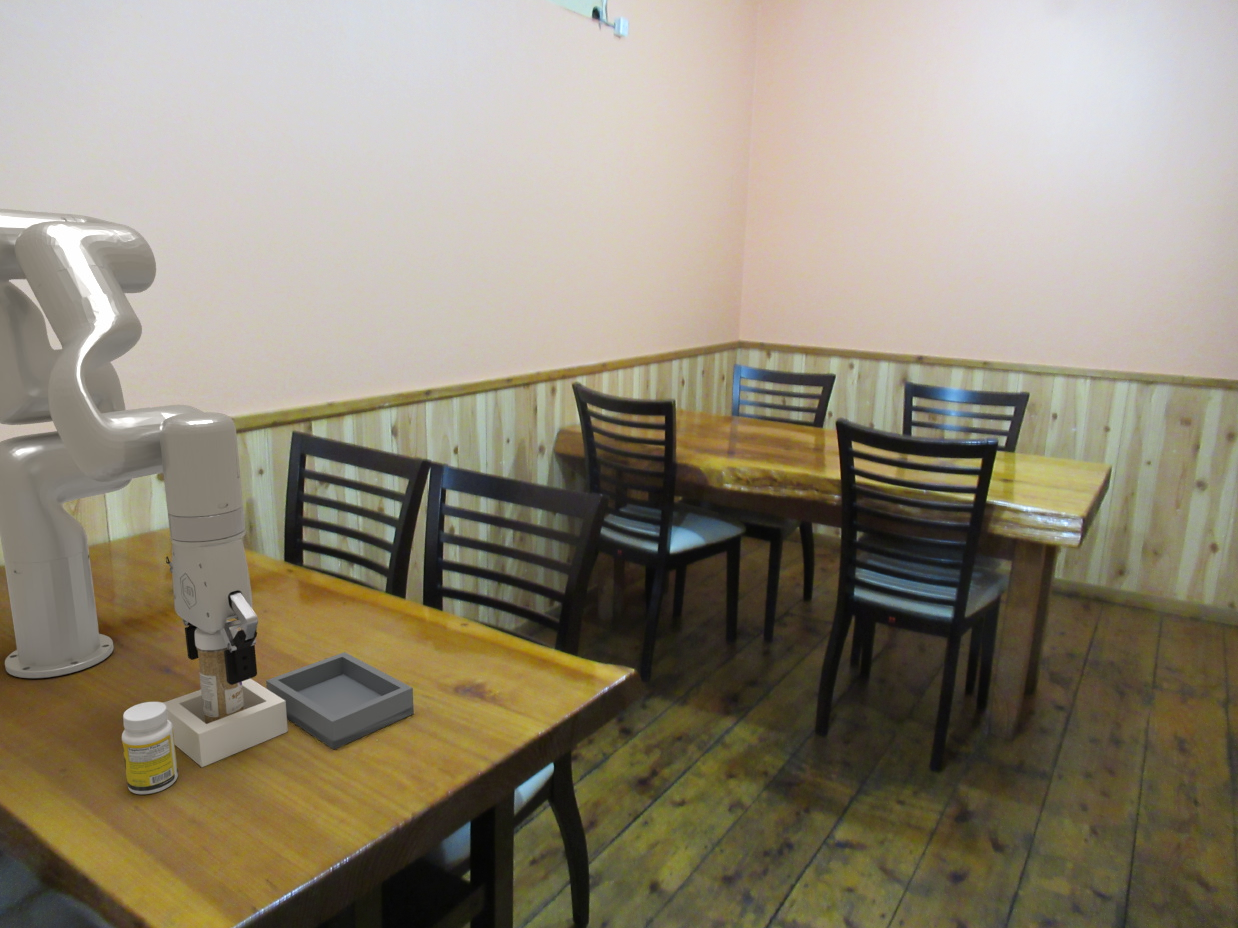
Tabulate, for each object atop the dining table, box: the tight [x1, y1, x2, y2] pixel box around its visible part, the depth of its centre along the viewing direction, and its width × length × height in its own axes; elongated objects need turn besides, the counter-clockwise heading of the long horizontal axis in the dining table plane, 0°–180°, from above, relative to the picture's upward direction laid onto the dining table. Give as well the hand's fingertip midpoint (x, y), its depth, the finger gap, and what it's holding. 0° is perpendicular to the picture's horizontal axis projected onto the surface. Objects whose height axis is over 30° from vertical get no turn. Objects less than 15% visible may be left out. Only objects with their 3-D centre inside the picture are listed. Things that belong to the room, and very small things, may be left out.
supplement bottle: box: [121, 701, 179, 795], centre depth 89 cm, size 5×5×8 cm
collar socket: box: [163, 678, 289, 768], centre depth 99 cm, size 10×10×4 cm
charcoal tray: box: [265, 651, 415, 750], centre depth 105 cm, size 15×11×4 cm
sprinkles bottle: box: [195, 620, 244, 724], centre depth 98 cm, size 5×5×14 cm
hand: (222, 667), depth 97 cm, fingers open, 9 cm apart
